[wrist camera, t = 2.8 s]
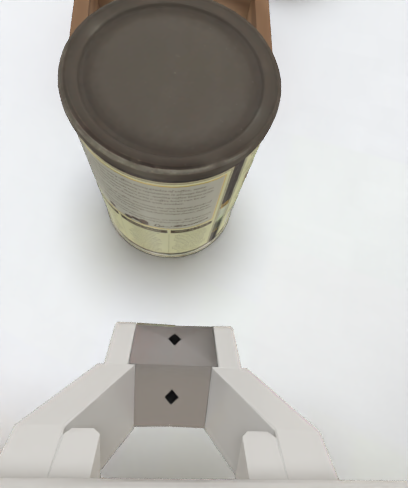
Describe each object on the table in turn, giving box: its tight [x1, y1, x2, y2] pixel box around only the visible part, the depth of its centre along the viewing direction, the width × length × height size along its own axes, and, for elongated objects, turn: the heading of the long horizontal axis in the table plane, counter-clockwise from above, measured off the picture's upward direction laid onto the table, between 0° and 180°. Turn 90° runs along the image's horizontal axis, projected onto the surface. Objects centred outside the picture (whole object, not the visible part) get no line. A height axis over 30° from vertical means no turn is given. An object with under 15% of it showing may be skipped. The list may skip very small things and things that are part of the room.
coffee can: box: [58, 0, 281, 257], centre depth 24 cm, size 10×10×14 cm
